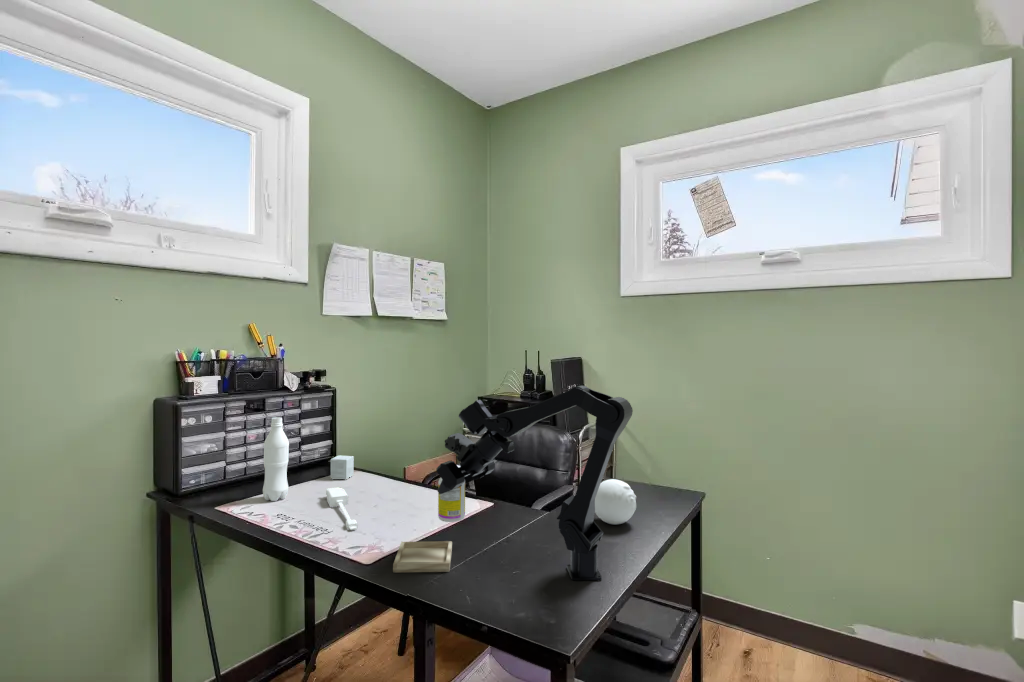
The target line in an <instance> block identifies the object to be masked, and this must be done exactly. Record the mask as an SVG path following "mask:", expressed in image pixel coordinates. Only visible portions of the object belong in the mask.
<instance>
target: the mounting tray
mask: <svg viewBox="0 0 1024 682" xmlns="http://www.w3.org/2000/svg"><path fill="white" fill-rule="evenodd" d="M452 550H453V541H451V540H444V541H443V540H441V541H438V540H437V541H428V540H427V541H401V542H400V545H399V548H398V549H397V553H396V555H395V559H394V561H393V563H392V572H393V573H442V572H443V573H444V572H446V573H447V572H449V573H450V570H451V562H452V561H451V560H452V554H453V551H452Z"/></svg>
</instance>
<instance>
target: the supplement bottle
mask: <svg viewBox="0 0 1024 682" xmlns="http://www.w3.org/2000/svg"><path fill="white" fill-rule="evenodd" d="M456 465H457V466H458V468H459V467H461V466H460V465H459V464H456ZM441 482H442V478H441V477H440V478H438V483H437V484H438V487H437V490H438V489H439V486H440V484H441ZM437 493H438V492H437ZM437 497H438V498H437V500H438V503H437V505H438V506H437V507H438V508H437V511H438V513H437V516H438V517H437V518H438V519H439V520H440V521H442V522H445V523H456V522H459V521H462V520H464V519H465V517H466V484H465V482H464V483H463V484H462V486H461V487H458V488H456V489H453V490H451V491H448V492H445V493H442V494H439V493H438V496H437Z"/></svg>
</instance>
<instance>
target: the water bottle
mask: <svg viewBox="0 0 1024 682" xmlns="http://www.w3.org/2000/svg"><path fill="white" fill-rule="evenodd" d="M283 426H284V424H283V417H279V416H277V417H276V416H275V417H271V422H270V431H269V433H268V434H267V436H266V438H265V440H264V442H263V466H264V481H263V487H262V495H263V498H264V501H271V502H277V501H278V500H279V499H280V500H284V499H286V497H287V495H288V493H289V482H288V477H287V476H288V475H287V472H288V463H289V449H290V448H289V446H290V441H289V439H288V437H287V434H286V433H285V431H284V429H283Z"/></svg>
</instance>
